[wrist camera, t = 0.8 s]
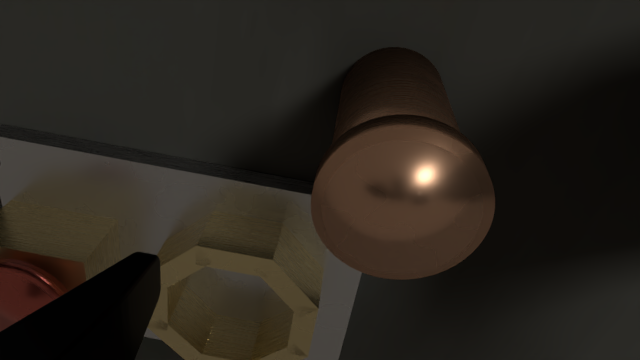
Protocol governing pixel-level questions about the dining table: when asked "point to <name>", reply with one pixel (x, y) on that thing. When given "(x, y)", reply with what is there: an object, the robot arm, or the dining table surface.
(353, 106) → the pipe stub
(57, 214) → the panel with octagonal sockets
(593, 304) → the dining table surface
